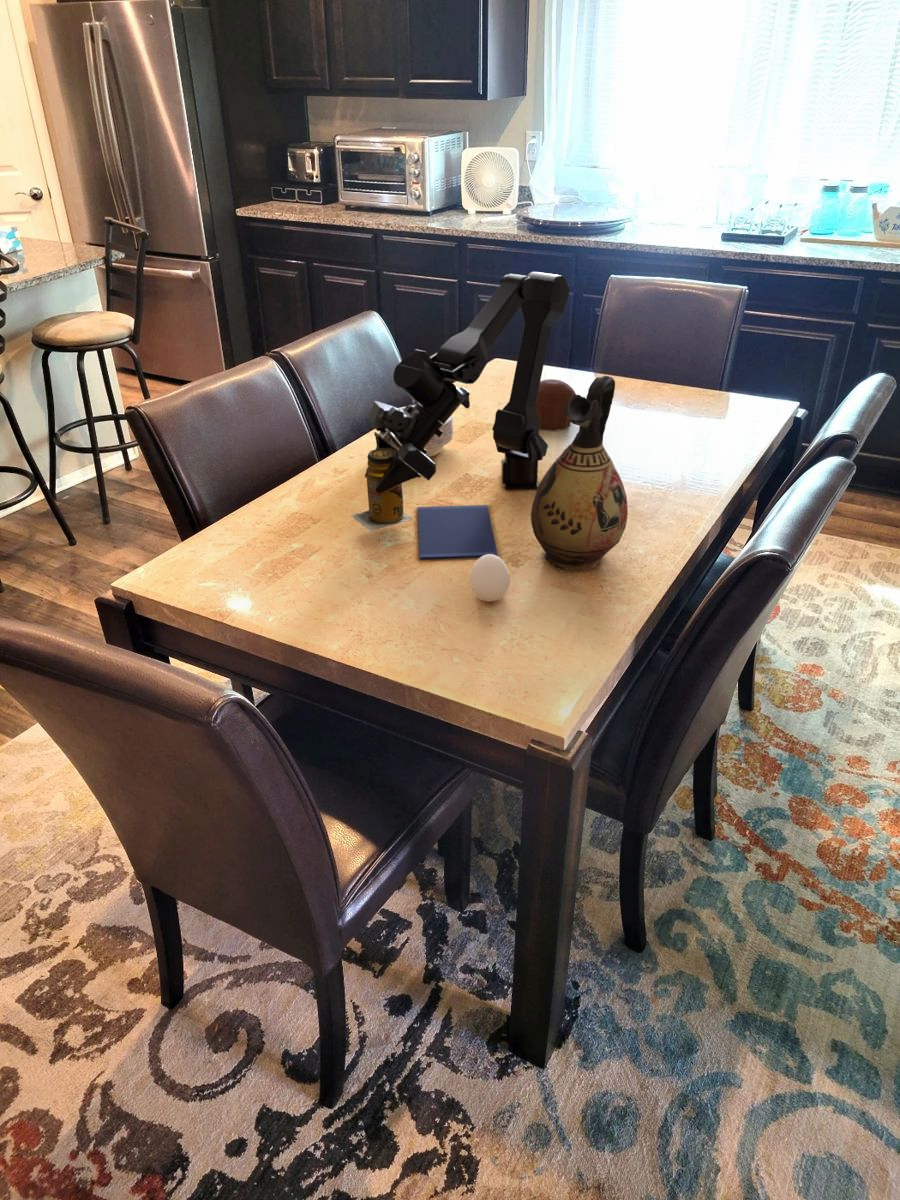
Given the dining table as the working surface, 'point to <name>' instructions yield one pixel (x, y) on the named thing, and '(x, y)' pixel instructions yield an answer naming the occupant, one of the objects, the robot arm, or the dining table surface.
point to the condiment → (381, 495)
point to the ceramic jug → (582, 489)
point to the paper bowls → (439, 438)
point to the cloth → (455, 532)
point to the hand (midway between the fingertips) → (371, 484)
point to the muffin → (553, 404)
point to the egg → (489, 578)
